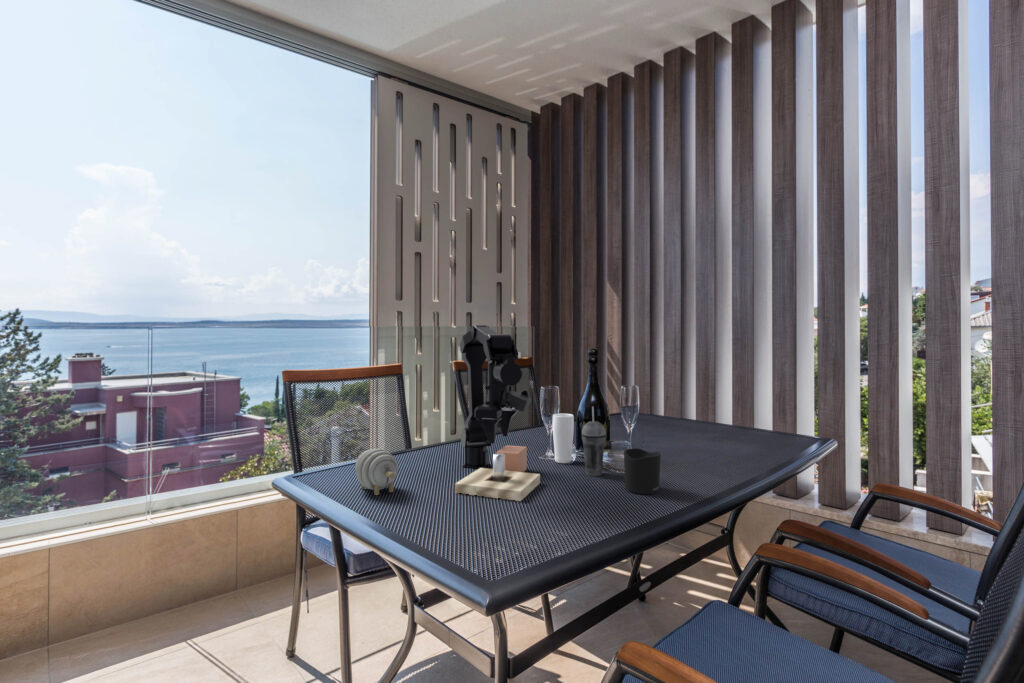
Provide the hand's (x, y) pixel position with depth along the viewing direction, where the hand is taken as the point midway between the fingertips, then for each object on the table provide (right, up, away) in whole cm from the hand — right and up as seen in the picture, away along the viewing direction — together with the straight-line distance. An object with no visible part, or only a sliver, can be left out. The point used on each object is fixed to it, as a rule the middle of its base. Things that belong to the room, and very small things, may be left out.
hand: (498, 439), depth 140 cm
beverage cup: (+27, -13, +14) cm, 33 cm away
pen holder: (+38, -13, -1) cm, 40 cm away
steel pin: (0, -13, 0) cm, 13 cm away
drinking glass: (+20, -12, +27) cm, 36 cm away
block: (+3, -13, +15) cm, 20 cm away
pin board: (0, -13, 0) cm, 13 cm away
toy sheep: (-32, -13, -2) cm, 35 cm away
